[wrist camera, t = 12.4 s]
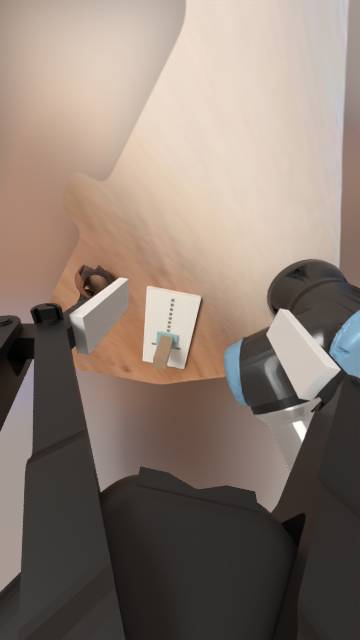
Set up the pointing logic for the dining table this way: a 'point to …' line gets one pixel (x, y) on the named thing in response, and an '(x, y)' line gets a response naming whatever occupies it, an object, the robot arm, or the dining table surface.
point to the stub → (163, 349)
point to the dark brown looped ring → (86, 273)
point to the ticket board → (170, 322)
